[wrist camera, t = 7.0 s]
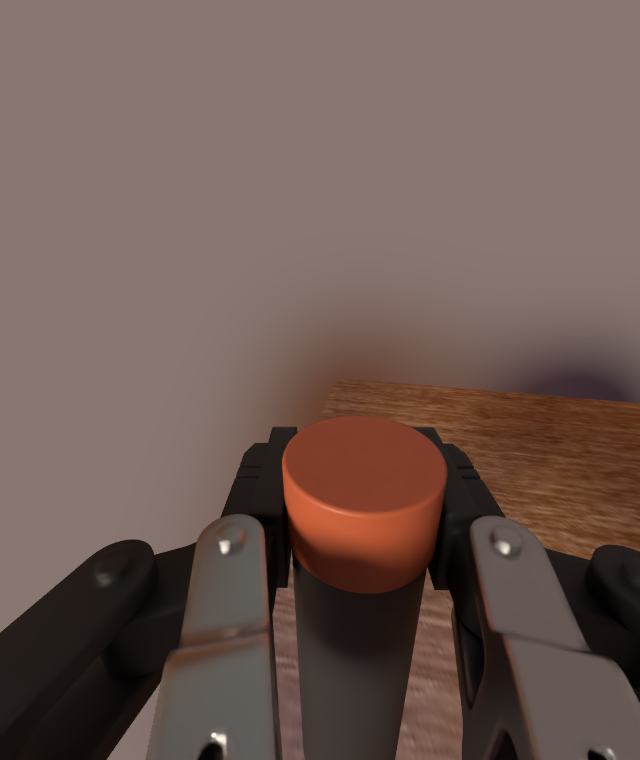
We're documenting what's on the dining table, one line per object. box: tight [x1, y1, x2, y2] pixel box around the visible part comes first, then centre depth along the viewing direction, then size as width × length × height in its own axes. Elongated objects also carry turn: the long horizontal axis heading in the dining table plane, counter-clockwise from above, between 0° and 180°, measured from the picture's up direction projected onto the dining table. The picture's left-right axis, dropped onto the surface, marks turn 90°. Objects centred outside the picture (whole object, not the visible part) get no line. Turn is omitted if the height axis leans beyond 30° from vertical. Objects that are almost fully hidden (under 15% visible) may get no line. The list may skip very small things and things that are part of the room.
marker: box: [282, 416, 448, 760], centre depth 9 cm, size 3×3×12 cm
